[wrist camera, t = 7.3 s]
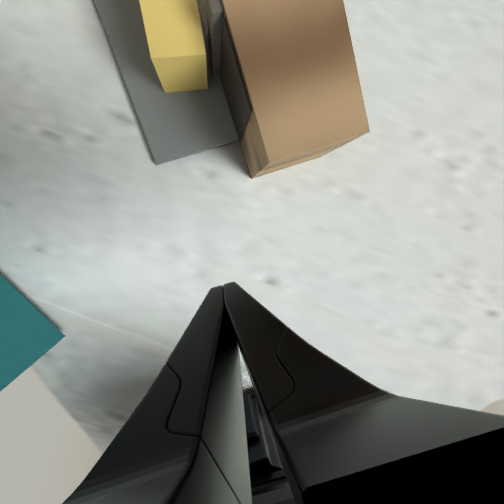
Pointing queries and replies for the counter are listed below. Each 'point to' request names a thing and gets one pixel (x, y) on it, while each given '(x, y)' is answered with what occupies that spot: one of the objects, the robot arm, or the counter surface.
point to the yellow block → (176, 43)
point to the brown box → (286, 78)
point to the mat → (154, 97)
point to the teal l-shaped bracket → (21, 333)
